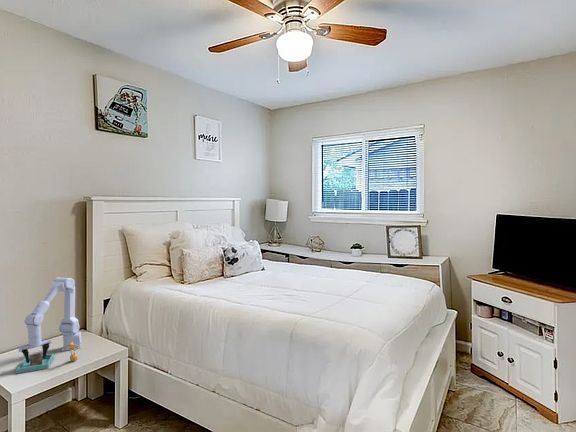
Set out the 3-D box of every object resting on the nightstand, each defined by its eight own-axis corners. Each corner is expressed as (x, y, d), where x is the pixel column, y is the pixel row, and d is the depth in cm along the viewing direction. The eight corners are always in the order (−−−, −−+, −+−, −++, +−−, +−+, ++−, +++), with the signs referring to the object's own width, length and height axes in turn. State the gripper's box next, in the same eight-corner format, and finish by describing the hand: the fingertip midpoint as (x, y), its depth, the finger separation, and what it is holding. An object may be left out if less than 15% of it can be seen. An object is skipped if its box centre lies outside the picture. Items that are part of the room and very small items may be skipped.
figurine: (83, 358, 203) (82, 338, 202) (79, 363, 197) (78, 342, 196) (67, 359, 201) (66, 339, 201) (62, 364, 195) (61, 343, 195)
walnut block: (39, 361, 198) (39, 353, 198) (42, 364, 195) (41, 355, 195) (30, 364, 195) (29, 355, 195) (32, 367, 192) (31, 358, 192)
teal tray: (54, 357, 204) (54, 353, 204) (48, 368, 191) (48, 364, 191) (25, 362, 199) (24, 357, 199) (16, 373, 186) (16, 369, 186)
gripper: (48, 330, 202) (49, 353, 203) (16, 337, 191) (18, 362, 192) (51, 333, 197) (53, 357, 198) (19, 341, 187) (21, 366, 188)
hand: (36, 360), depth 195 cm, fingers open, 7 cm apart
